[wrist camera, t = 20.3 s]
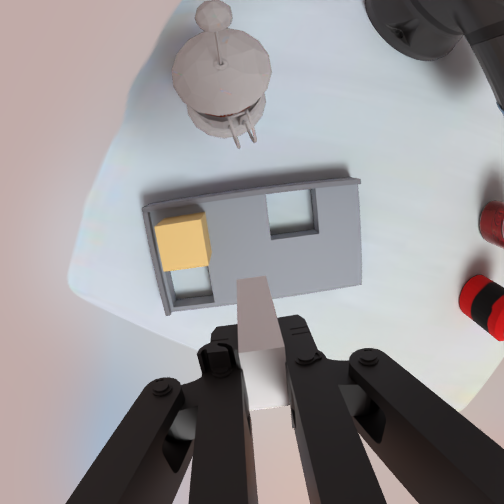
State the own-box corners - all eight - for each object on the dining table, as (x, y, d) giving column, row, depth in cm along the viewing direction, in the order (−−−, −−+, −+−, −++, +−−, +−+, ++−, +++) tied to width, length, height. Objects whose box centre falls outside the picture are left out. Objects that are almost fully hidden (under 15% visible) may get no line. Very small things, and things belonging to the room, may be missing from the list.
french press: (249, 54, 34) (271, -71, 10) (282, 136, 37) (358, 99, 13) (175, 80, 34) (98, -16, 10) (207, 163, 38) (160, 167, 14)
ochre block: (164, 218, 37) (154, 226, 32) (205, 211, 37) (200, 219, 32) (172, 257, 38) (163, 271, 33) (211, 252, 38) (208, 265, 33)
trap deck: (149, 203, 39) (141, 207, 35) (350, 177, 39) (360, 178, 36) (170, 304, 43) (165, 315, 39) (355, 277, 43) (364, 287, 40)
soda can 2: (460, 278, 44) (505, 308, 33) (489, 270, 44) (533, 295, 33) (455, 317, 46) (495, 351, 35) (484, 307, 47) (523, 336, 35)
